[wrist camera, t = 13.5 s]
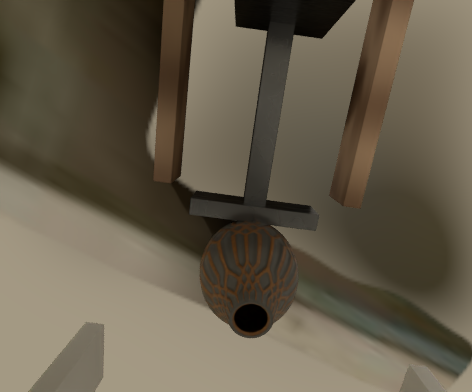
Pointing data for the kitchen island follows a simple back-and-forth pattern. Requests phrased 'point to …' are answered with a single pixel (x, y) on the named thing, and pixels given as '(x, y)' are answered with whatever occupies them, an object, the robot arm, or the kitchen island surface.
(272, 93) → the lopsided grey dumbbell
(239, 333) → the vase
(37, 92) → the kitchen island surface
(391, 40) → the channel
